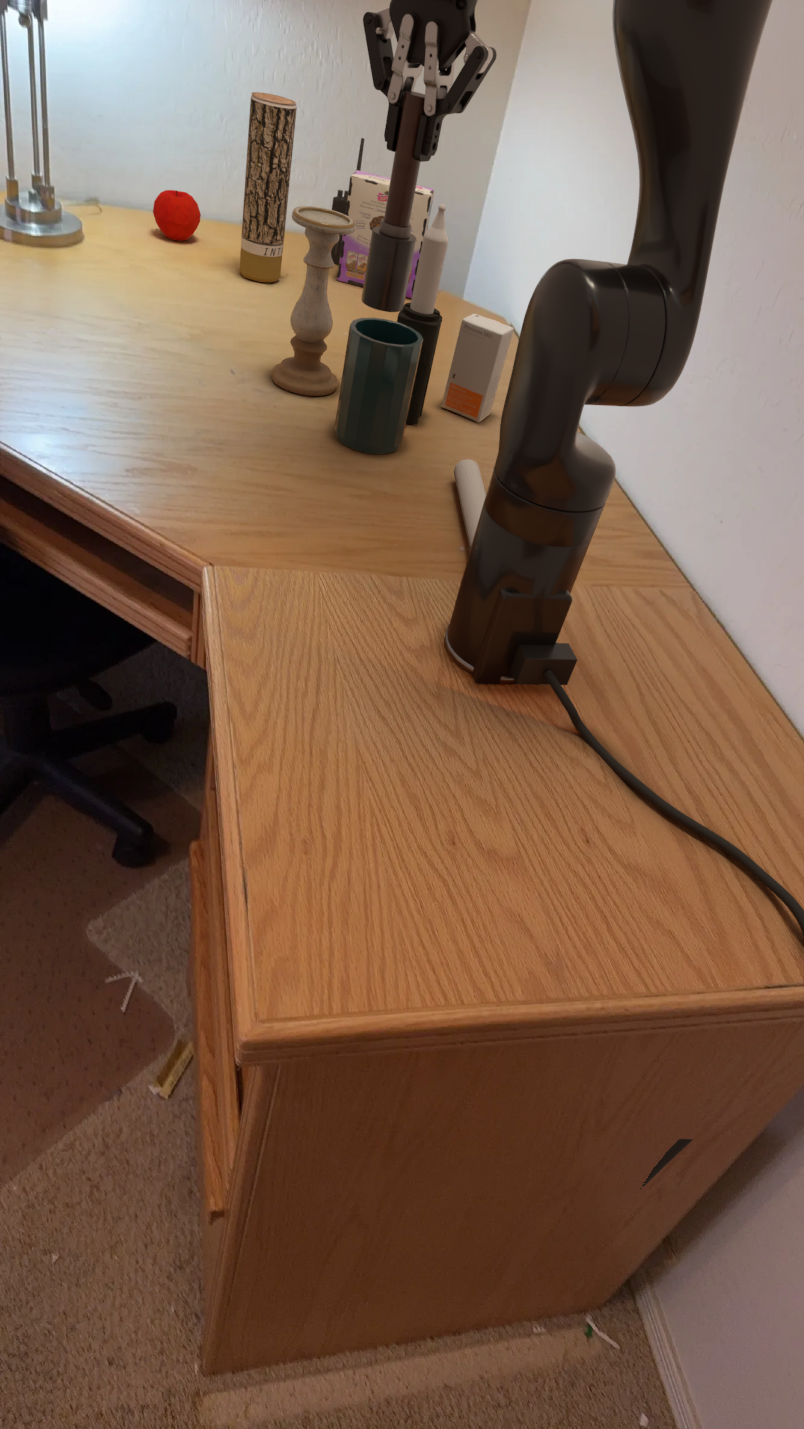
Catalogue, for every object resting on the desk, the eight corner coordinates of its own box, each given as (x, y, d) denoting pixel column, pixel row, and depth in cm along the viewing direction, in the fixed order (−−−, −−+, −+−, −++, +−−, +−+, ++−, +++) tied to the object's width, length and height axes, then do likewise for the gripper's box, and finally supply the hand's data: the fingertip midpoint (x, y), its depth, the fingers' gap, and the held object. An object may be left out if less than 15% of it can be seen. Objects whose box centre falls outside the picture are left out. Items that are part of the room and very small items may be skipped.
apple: (185, 230, 157) (186, 183, 153) (208, 245, 154) (210, 198, 149) (144, 230, 153) (144, 182, 148) (167, 245, 149) (168, 197, 144)
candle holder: (260, 383, 115) (275, 211, 101) (286, 363, 121) (304, 199, 108) (322, 403, 114) (346, 232, 100) (345, 382, 120) (370, 219, 107)
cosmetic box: (439, 408, 120) (460, 318, 112) (452, 399, 123) (473, 311, 115) (479, 424, 119) (503, 334, 111) (491, 415, 122) (515, 327, 114)
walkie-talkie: (354, 265, 162) (373, 139, 149) (344, 267, 160) (362, 139, 146) (333, 256, 163) (350, 131, 150) (323, 258, 161) (339, 131, 148)
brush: (407, 314, 94) (447, 103, 81) (365, 308, 93) (400, 94, 80) (398, 299, 97) (435, 94, 85) (358, 293, 96) (390, 84, 83)
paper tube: (232, 275, 144) (243, 93, 128) (249, 266, 149) (262, 90, 133) (270, 287, 143) (286, 105, 127) (286, 277, 149) (303, 102, 132)
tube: (505, 606, 87) (475, 484, 105) (514, 580, 84) (481, 460, 103) (476, 602, 86) (451, 480, 104) (484, 576, 84) (457, 456, 102)
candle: (415, 426, 114) (461, 214, 98) (378, 416, 114) (417, 202, 98) (422, 412, 118) (467, 205, 101) (386, 402, 118) (425, 194, 102)
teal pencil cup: (407, 457, 107) (430, 350, 98) (340, 451, 104) (357, 341, 96) (393, 426, 113) (414, 322, 104) (329, 419, 110) (345, 313, 102)
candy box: (416, 291, 157) (436, 188, 147) (412, 300, 153) (432, 194, 142) (342, 272, 157) (356, 167, 146) (335, 280, 153) (349, 173, 142)
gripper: (357, -104, 74) (328, 135, 85) (499, -67, 70) (449, 179, 81) (404, -90, 79) (371, 133, 90) (539, -55, 75) (487, 174, 86)
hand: (408, 154), depth 86 cm, fingers closed on brush, 2 cm apart
